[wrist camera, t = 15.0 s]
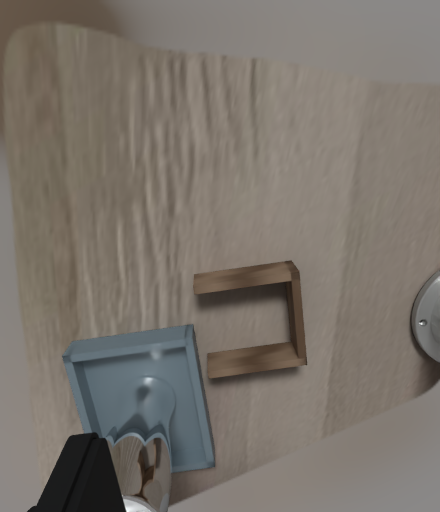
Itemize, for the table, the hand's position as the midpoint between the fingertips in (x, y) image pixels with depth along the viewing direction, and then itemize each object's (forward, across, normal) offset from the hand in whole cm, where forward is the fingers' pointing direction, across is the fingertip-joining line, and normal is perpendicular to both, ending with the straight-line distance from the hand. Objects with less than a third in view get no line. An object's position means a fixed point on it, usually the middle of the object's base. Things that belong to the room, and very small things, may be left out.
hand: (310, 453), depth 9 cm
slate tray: (+30, +12, +19) cm, 38 cm away
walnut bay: (+30, 0, +10) cm, 32 cm away
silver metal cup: (+30, +12, +19) cm, 37 cm away
